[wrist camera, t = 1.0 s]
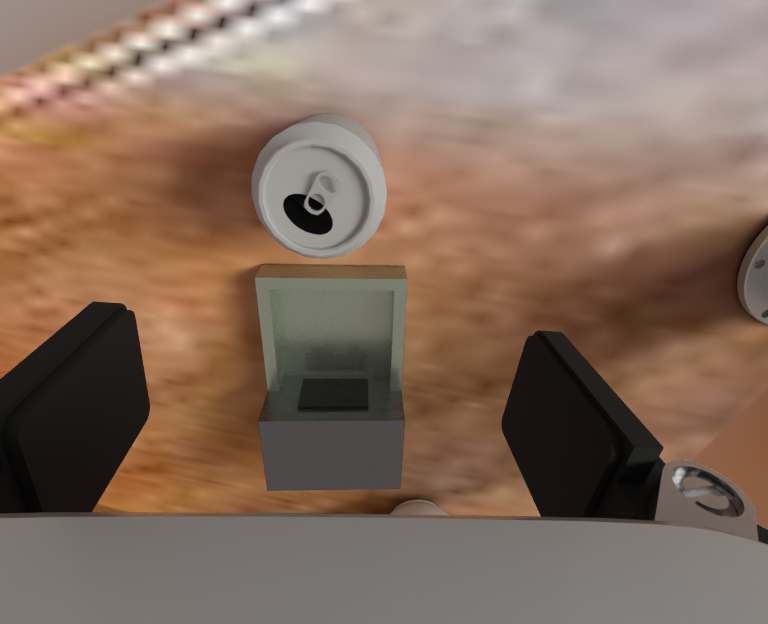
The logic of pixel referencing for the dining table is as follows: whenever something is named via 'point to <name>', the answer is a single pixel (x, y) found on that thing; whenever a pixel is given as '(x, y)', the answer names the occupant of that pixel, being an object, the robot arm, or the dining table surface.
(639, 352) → the dining table surface
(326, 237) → the can
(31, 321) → the dining table surface
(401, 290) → the frame
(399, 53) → the dining table surface
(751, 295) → the robot arm
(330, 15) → the dining table surface
